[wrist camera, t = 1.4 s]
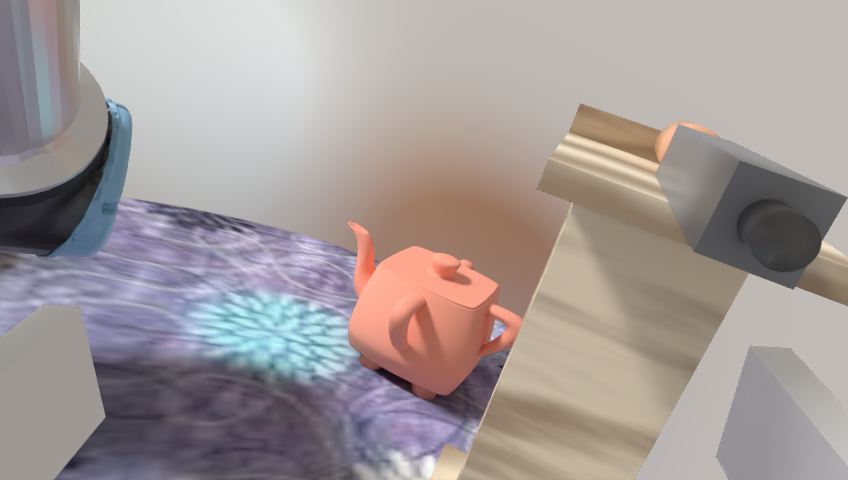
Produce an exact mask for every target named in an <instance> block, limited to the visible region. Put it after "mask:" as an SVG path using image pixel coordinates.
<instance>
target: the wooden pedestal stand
mask: <svg viewBox="0 0 848 480" xmlns="http://www.w3.org/2000/svg"><path fill="white" fill-rule="evenodd" d="M660 132H661V131H660V130H657V129H654V128H651V127H648V126H645V125H642V124H639V123H636V122H634V121H630V120H628V119H625V118H622V117H619V116H616V115H613V114H610V113H607V112H604V111H601V110H598V109H595V108H593V107H590V106H586V105H584V104H580V106H579V108H578V111H577V113H576V116H575V118H574V121H573V123H572V126H571V128H570V131H569V133H568V134H567V135H566V137H565V138H564V139H563V141H562V142H561V143H560V144H559V146H558V147H557V148H556V150H555V151H554V152H553V154H552V155H551V156H550V157H549V159H548V161H547V164H546V167H545V169H544V172H543V174H542V177H541V179H540V182H539V184H538V187H537V190H540V191H543V192H545V193H548V194H551V195H553V196H556V197H559V198H561V199H564V200H567V201H569V202H572V204H571V207H570V209H569V212H568V214H567V216H566V219H565V221H564V224H563V226H562V228H561V231H560V233H559V236H558V238H557V240H556V243H555V245H554V248H553V250H552V253H551V255H550V257H549V260H548V262H547V264H546V267H545V269H544V271H543V274H542V276H541V279H540V281H539V284H538V286H537V288H536V291H535V293H534V295H533V298H532V300H531V303H530V305H529V308H528V310H527V312H526V315H525V317H524V319H523V322H522V324H521V327H520V329H519V331H518V334H517V336H516V339H515V341H514V343H513V346H512V348H511V351H510V353H509V355H508V358H507V360H506V363H505V365H504V367H503V370H502V372H501V375H500V377H499V379H498V382H497V384H496V387H495V389H494V391H493V394H492V396H491V399H490V401H489V403H488V406H487V408H486V411H485V413H484V415H483V418H482V420H481V422H480V425H479V427H478V430H477V432H476V434H475V437H474V439H473V442H472V444H471V446H470V449H469V451H468V454H467V453H464V452H462V451H460V450H458V449H456V448H454V447H452V446H450V445H448V444H445V446H444V448H443V450H442V453H441V455H440V457H439V459H438V461H437V464H436V466H435V468H434V470H433V473H432V475H431V477H430V479H429V480H635V478H636V476H637V474H638V472H639V471H640V469H641V467H642V465H643V463H644V462H645V460H646V458H647V456H648V454H649V453H650V451H651V449H652V447H653V445H654V444H655V442H656V440H657V438H658V436H659V434H660V433H661V431H662V429H663V427H664V426H665V424H666V422H667V420H668V418H669V416H670V415H671V413H672V411H673V409H674V407H675V406H676V404H677V402H678V400H679V398H680V397H681V395H682V393H683V391H684V389H685V388H686V386H687V384H688V382H689V380H690V379H691V377H692V375H693V373H694V371H695V369H696V368H697V366H698V364H699V362H700V361H701V359H702V357H703V355H704V353H705V351H706V350H707V348H708V346H709V344H710V342H711V341H712V339H713V337H714V335H715V333H716V332H717V330H718V328H719V326H720V324H721V323H722V321H723V319H724V317H725V315H726V314H727V312H728V310H729V308H730V306H731V305H732V303H733V301H734V299H735V297H736V296H737V293H738V292H739V290H740V288H741V287H742V285H743V283H744V281H745V279H746V277H747V276H748V274H749V273H748V272H745V271H743V270H740V269H737V268H735V267H732V266H730V265H727V264H724V263H722V262H719V261H716V260H714V259H711V258H708V257H706V256H703V255H700V254H698V253H695V252H693V250H692V248H691V246H690V244H689V242H688V240H687V238H686V236H685V234H684V232H683V230H682V228H681V226H680V224H679V222H678V220H677V218H676V216H675V214H674V212H673V210H672V208H671V206H670V204H669V202H668V200H667V198H666V196H665V194H664V192H663V190H662V188H661V186H660V184H659V183H658V181H657V179H656V177H655V173H656V171H657V169H658V167H659V165H660V162H659V160H658V159H657V157H656V154H655V142H656V139H657V137H658V135H659V133H660ZM796 287H798V288H801V289H804V290H806V291H809V292H812V293H814V294H817V295H820V296H823V297H825V298H828V299H830V300H833V301H836V302H839V303H841V304H844V305H846V306H848V258H847V257H846V256H845V255H843V254H842V253H840V252H839V251H838V250H836V249H835V248H834V247H832V246H831V245H830V244H828V243H827V242H826V241H824V240H822V244H821V249H820V251H819V253H818V255H817V257H816V258H815V259H814V260H813V261H812V262H811V263H810V264H809V265H808V266H807V267H806V269H805V271H804V273H803V274H802V276H801V278H800V279H799V281H798V283H797V284H796Z"/></svg>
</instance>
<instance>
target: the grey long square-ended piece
mask: <svg viewBox="0 0 848 480" xmlns="http://www.w3.org/2000/svg"><path fill="white" fill-rule="evenodd" d="M655 154H656V157H657V159H658V160H659V162H660V165H659V167H658V169H657V171H656V173H655V177H656V179H657V181H658V183H659V184H660V186H661V188H662V190H663V192H664V194H665V196H666V198H667V200H668V202H669V204H670V206H671V208H672V210H673V212H674V214H675V216H676V218H677V220H678V222H679V224H680V226H681V228H682V230H683V232H684V234H685V236H686V238H687V240H688V242H689V244H690V246H691V248H692V250H693V252H695V253H698V254H700V255H703V256H706V257H708V258H711V259H714V260H716V261H719V262H722V263H724V264H727V265H730V266H732V267H735V268H737V269H740V270H743V271H745V272H748V273H751V274H754V275H756V276H759V277H762V278H764V279H767V280H769V281H772V282H775V283H777V284H780V285H783V286H785V287H788V288H791V289H794V288H795V286H796V284H797V283H798V281H799V279H800V278H801V276H802V274H803V273H804V271H805V269H806V267H807V266H808V265H809V264H810V263H811V262H812V261H813V260H814V259H815V258H816V257H817V255H818V253H819V251H820V249H821V244H822V240H823V239H824V237H825V235H826V233H827V232H828V230H829V228H830V227H831V225H832V223H833V222H834V220H835V218H836V217H837V215H838V213H839V211H840V210H841V208H842V206H843V205H844V203H845V201H846V200H847V198H848V197H846V196H844V195H842V194H840V193H838V192H835V191H833V190H831V189H829V188H827V187H825V186H823V185H821V184H819V183H817V182H815V181H813V180H811V179H808V178H807V177H804V176H802V175H800V174H798V173H796V172H794V171H792V170H790V169H788V168H786V167H783V166H782V165H779V164H777V163H775V162H773V161H771V160H769V159H767V158H765V157H763V156H761V155H759V154H757V153H755V152H752V151H750V150H748V149H746V148H744V147H742V146H740V145H738V144H736V143H734V142H731V141H728V140H725V139H722V138H720V137H719V136H718V135H717V134H715V133H714V132H712V131H710V130H708V129H706V128H704V127H702V126H700V125H698V124H695V123H693V122H689V121H678V122H674V123H672V124H670V125H668V126H666V127H665V128H664V129H663V130H662V131H661V132H660V133H659V135H658V137H657V139H656V142H655Z"/></svg>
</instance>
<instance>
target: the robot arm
mask: <svg viewBox="0 0 848 480" xmlns="http://www.w3.org/2000/svg"><path fill="white" fill-rule="evenodd" d="M79 2H80V0H0V252H11V253H22V254H33V255H36V256H38V257H40V258H42V257H43V258H47V259H48V258H55V257H57V256H66V257H87V256H91V255H93V254H95V253H97V252H98V251H100V250H101V249H102V248H103V246H104V245H105V244H106V242H107V240H108V238H109V236H110V233H111V231H112V228H113V225H114V222H115V218H116V214H117V208H118V207H117V204H118V203H119V201H120V197H121V194H122V192H123V187H124V183H125V177H126V172H127V167H128V161H129V155H130V148H131V137H132V119H131V115H130V113H129V111H128V110H127V108H126V107H124V106H123V105H121V104H118V103H115V102H113V101H111V100H110V99H108V98H106V97H104V95H103V92H102V90H101V87H100V86H99V84H98V83H97V81H96V80H95V78H94V77H93V75H92V74H91V73H90V72H89V70H88V69H87V68H86V67H85V66H84V65H83V64H82V63H81V62H80V3H79ZM105 417H106V416H105V412H104V407H103V403H102V399H101V395H100V390H99V386H98V382H97V377H96V373H95V369H94V364H93V360H92V356H91V352H90V347H89V343H88V339H87V334H86V330H85V326H84V321H83V317H82V313H81V308H80V307H71V306H54V305H42V306H41V307H39V308H38V309H37V310H35V311H34V312H33V313H31V314H30V315H29V316H27V317H26V318H25V319H24V320H22V321H21V322H20V323H18V324H17V325H16V326H14V327H13V328H12V329H10V330H9V331H8V332H6V333H5V334H4V335H2V336H1V337H0V480H54V479H55V478H56V477H57V475H58V474H59V473H60V472H61V470H62V469H63V468H64V467H65V466H66V464H67V463H68V462H69V461H70V460H71V458H72V457H73V456H74V455H75V453H76V452H77V451H78V450H79V449H80V447H81V446H82V445H83V444H84V443H85V441H86V440H87V439H88V438H89V436H90V435H91V434H92V433H93V432H94V430H95V429H96V428H97V427H98V426H99V424H100V423H101V422H102V421H103V419H104V418H105ZM716 457H717V459H718V461H719V463H720V465H721V466H722V468H723V470H724V472H725V474H726V475H727V477H728V479H729V480H848V410H847V409H846V408H845V407H844V406H843V404H842V403H841V402H840V401H839V400H838V399H837V398H836V397H835V396H834V395H833V394H832V393H831V391H830V390H829V389H828V388H826V386H825V385H824V384H823V383H822V382H821V381H820V380H819V379H818V377H817V376H816V375H815V374H814V373H813V372H812V371H811V370H810V369H809V368H808V367H807V366H806V365H805V363H804V362H803V361H802V360H801V359H800V358H799V357H798V356H797V355H796V354H795V353H794V351H793V350H792V349H791V348H780V347H762V346H749V349H748V353H747V356H746V360H745V363H744V366H743V369H742V372H741V376H740V379H739V382H738V386H737V389H736V392H735V395H734V399H733V402H732V405H731V409H730V412H729V415H728V418H727V422H726V425H725V428H724V432H723V435H722V438H721V441H720V445H719V448H718V451H717V455H716Z"/></svg>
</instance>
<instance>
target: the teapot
mask: <svg viewBox="0 0 848 480" xmlns="http://www.w3.org/2000/svg"><path fill="white" fill-rule="evenodd" d="M348 223H349V225H350V227H351V229H352V230H353V232H354V234H355V235H356V238H357V242H358V257H357V263H356V268H355V274H354V287H355V292H356V294H357V297H358V301H357V304H356V306H355V309H354V311H353V314H352V316H351V319H350V322H349V327H348V335H349V343H350V345H351V346H352V347H353V348H354V349H355V350H357V351H358V352H360V353H361V354H362V356H361V357H360V359H359V361H360V363H361V364H362V365H363V366H364V367H366V368H368V369H372V370H378V369H381V368H382V367H383V368H384V369H386V370H388V371H389V372H391V373H393V374H395V375H397V376H399V377H401V378H403V379H405V380H407V381H409V382H411V383H413V384H412V391H413V393H414V394H415V395H416V396H418V397H420V398H422V399H427V400H430V399H433V398H435V397H436V394H439V395H449V394H450V393H451V392H453V391H454V390H455V389H456V388H457V387H458V386H459V385H460V384H461V383H462V382H463V381H464V380H465V378H466V377H467V376H468V375H469V374H470V373H471V372H472V370H473V369H474V368H475V367H476V365H477V364H478V362H479V361H480V359H481V358H482V356H486V355H489V354H493V353H496V352H499V351H502V350H504V349H507V348H510V347H512V346H513V343H514V341H515V339H516V336H517V334H518V331H519V329H520V327H521V324H522V322H523V320H522V319H521V318H520V317H519V316H517V315H516V314H514V313H512V312H510V311H508V310H506V309H504V308H502V307H499V306H497V303H498V294H499V286H498V284H497V283H495V282H494V281H492V280H490V279H489V278H487V277H485V276H483V275H481V274H479V273H477V272H475V271H473V270H474V266H473V264H472V263H471V262H469V261H467V260H460V261H459V260H457V259H456V258H454V257H453V256H450V255H448V254H444V253H434V252H432V251H429V250H426V249H424V248H421V247H417V246H413V247H410V248H407V249H405V250H403V251H401V252H399V253H397V254H395V255H393V256H391V257H389V258H387V259H386V260H384V261H382V262H381V263H380V264H379V266H378V267H377V268H375V262H374V244H373V240H372V238H371V236H370V234H369V233H368V232H367V231H366V230H365V229H364V228H363V227H361V226H360V225H358V224H356V223H354V222H348ZM495 318H498V319H499V320H501V321H502V322H504V323H505V324H506V326H507V328H506V330H505V331H504V332H503V333H502V334H501V335H500V336H499V337H497V338H496V339H494V340H493V341H491V342H489V341H490V337H491V334H492V330H493V326H494V322H495Z"/></svg>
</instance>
